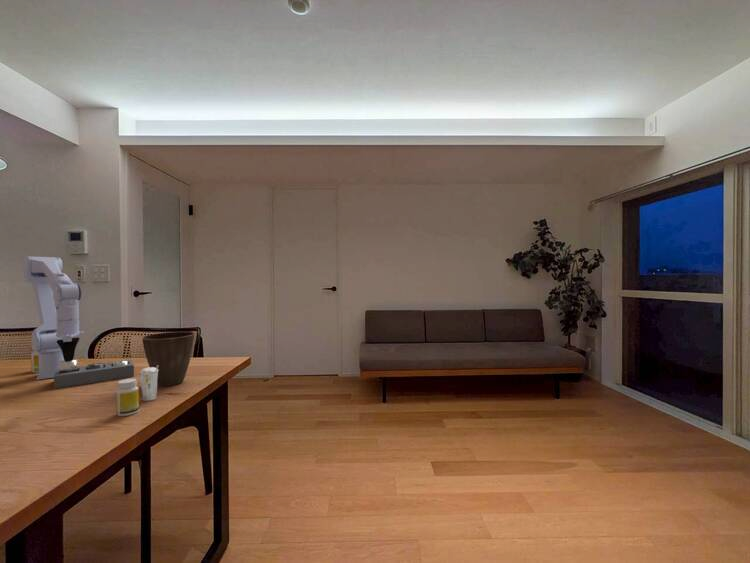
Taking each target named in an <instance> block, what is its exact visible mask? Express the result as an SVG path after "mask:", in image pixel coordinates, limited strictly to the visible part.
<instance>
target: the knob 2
mask: <svg viewBox="0 0 750 563" xmlns="http://www.w3.org/2000/svg"><path fill="white" fill-rule="evenodd" d="M128 360H129V359H120V360H115V361H112V362H113V366H119V365H126V364H128Z"/></svg>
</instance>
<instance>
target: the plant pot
mask: <svg viewBox="0 0 750 563" xmlns="http://www.w3.org/2000/svg"><path fill="white" fill-rule="evenodd" d="M194 339H195V332H193V331H171V332H170V331H169V332H160V333H153V334H148V335H144V336H142V337H141V340H142V345H143V349H144V354H145V357H146V361H147V365H148V366H149V367H155V368H157V365H159V366H158V380H157V387H171V386H177V385H179V384H182V383H183V382H184V380H185V379H186V378H185V377H186V376H187V371H188V367H189V364H190V361H191V359H192V358H191V357H192V351H193V347H194V341H195V340H194Z"/></svg>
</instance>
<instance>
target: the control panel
mask: <svg viewBox="0 0 750 563" xmlns="http://www.w3.org/2000/svg"><path fill="white" fill-rule="evenodd" d="M127 360H128V364H126V365H119V366H113V362H114V361H110V362H103V363H104V368H97V369H90V370H88V365H89V364H87V365H86V364H85V365H79V366H78V371H76V372H68V373H60V369H56V372H55V375H54V377H53V389H54V390H55V389H62V388H63V389H64V388H69V387H75V386H81V385H87V384H88V385H89V384H92V383H93V384H94V383H95V384H96V383H100V382H106V381H111V380H112V381H113V380H119V379H128V378H132V377H134V376H135V365H134V363H133V361H132V359H127Z"/></svg>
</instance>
